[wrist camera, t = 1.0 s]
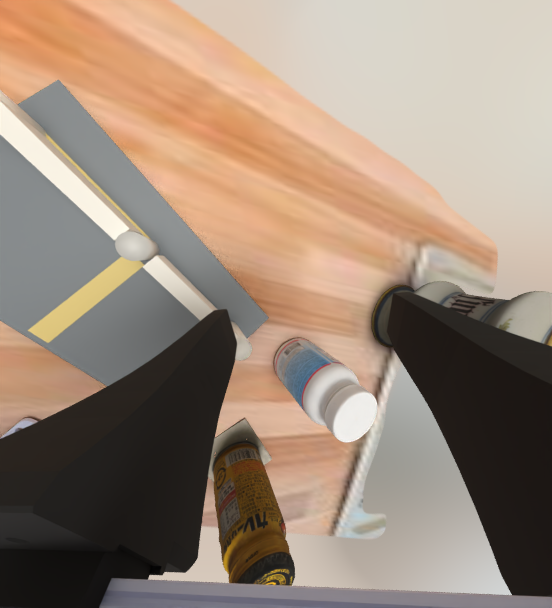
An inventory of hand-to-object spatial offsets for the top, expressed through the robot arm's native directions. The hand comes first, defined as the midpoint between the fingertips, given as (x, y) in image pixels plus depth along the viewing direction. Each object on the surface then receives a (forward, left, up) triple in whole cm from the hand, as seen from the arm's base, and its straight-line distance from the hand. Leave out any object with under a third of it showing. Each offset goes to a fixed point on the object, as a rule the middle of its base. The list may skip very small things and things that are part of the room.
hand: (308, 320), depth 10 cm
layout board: (-8, +7, -15) cm, 18 cm away
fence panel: (-4, +1, -14) cm, 15 cm away
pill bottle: (-1, -12, -15) cm, 19 cm away
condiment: (-15, -16, -15) cm, 27 cm away
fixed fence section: (-4, +13, -14) cm, 20 cm away
